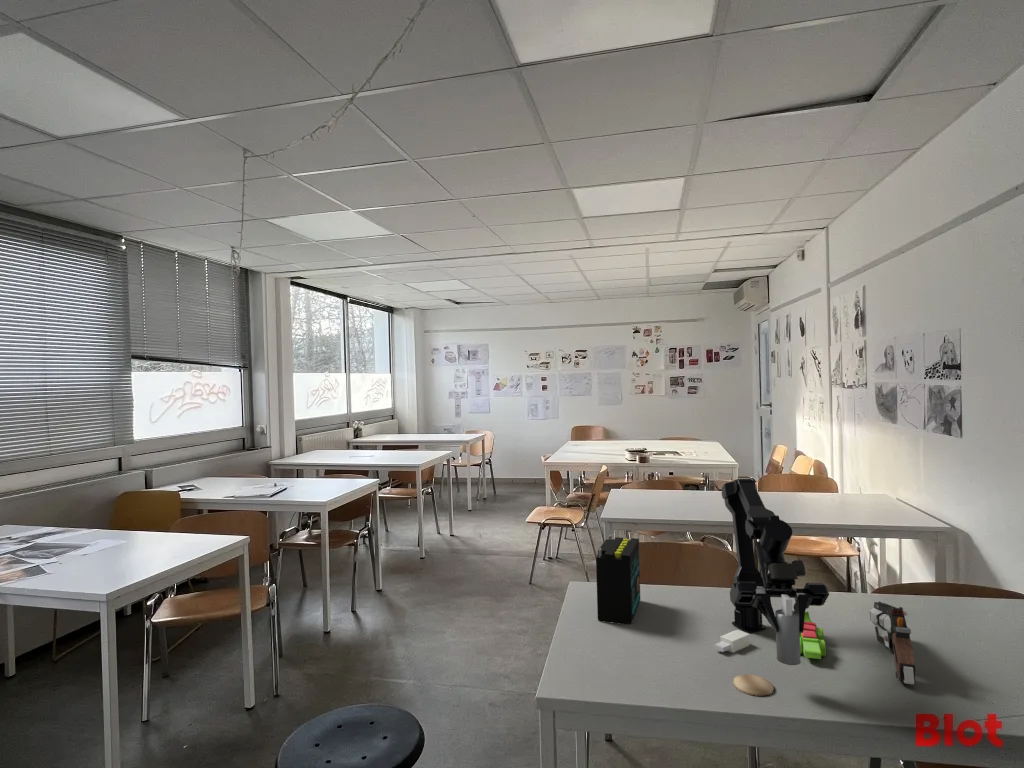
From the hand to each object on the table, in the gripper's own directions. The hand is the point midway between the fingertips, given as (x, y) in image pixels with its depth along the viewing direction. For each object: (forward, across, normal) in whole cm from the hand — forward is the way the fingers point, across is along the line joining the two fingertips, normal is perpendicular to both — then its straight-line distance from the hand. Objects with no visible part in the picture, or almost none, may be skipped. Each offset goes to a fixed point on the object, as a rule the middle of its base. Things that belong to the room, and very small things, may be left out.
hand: (789, 631), depth 122 cm
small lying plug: (-6, -8, +24) cm, 26 cm away
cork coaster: (+8, -7, +11) cm, 15 cm away
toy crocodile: (-7, +11, +26) cm, 29 cm away
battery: (-22, -34, +40) cm, 57 cm away
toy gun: (-3, +28, +22) cm, 36 cm away
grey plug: (+4, 0, +6) cm, 7 cm away
